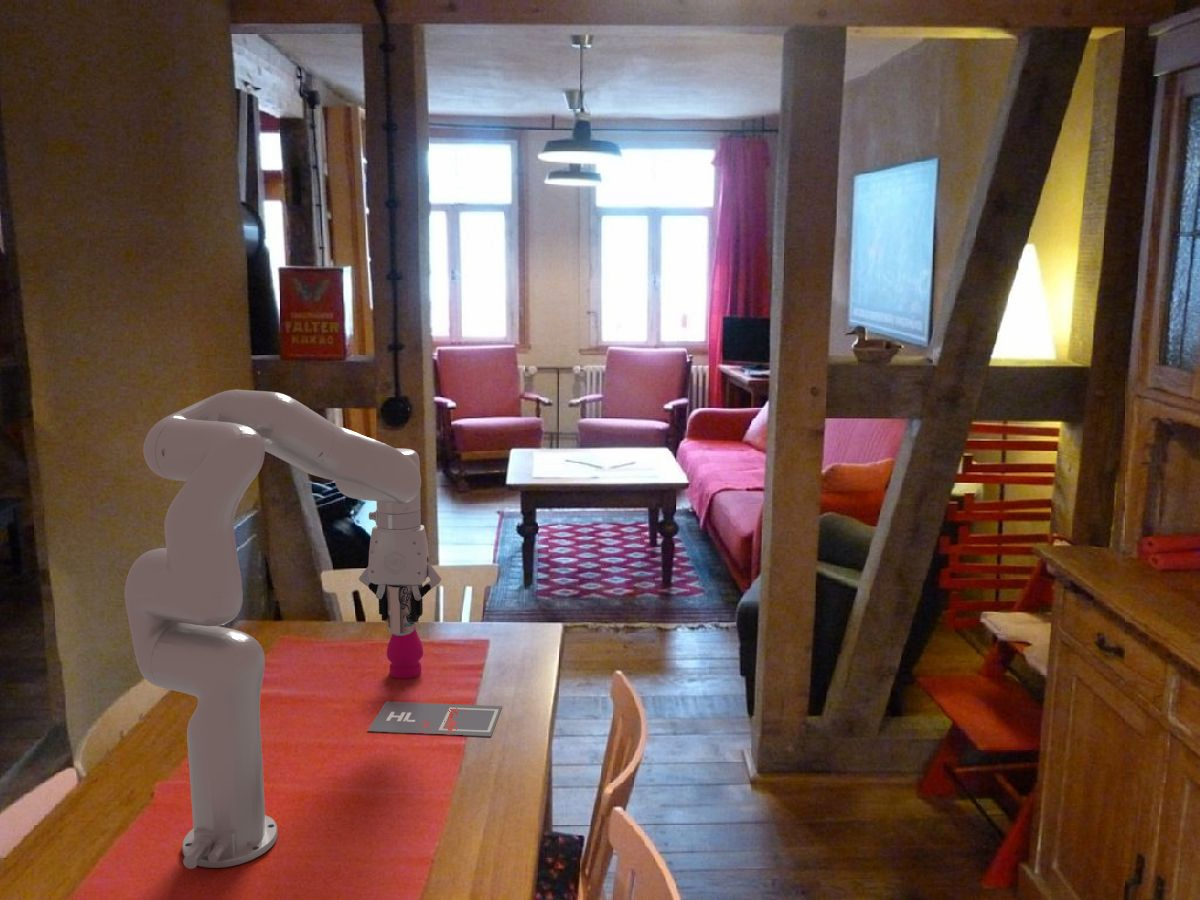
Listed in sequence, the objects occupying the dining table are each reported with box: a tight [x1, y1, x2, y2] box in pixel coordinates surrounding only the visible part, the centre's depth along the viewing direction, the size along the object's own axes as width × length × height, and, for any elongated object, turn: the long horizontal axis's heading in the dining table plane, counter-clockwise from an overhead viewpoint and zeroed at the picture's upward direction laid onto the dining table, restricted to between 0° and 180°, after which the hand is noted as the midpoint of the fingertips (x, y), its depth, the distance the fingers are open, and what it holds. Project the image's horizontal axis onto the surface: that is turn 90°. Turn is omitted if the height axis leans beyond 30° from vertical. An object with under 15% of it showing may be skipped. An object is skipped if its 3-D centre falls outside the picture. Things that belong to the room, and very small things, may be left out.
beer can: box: [386, 585, 416, 636], centre depth 174 cm, size 5×5×12 cm
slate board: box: [366, 701, 503, 738], centre depth 178 cm, size 12×22×1 cm, turn 86°
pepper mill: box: [386, 627, 424, 680], centre depth 196 cm, size 7×7×20 cm
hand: (401, 617), depth 175 cm, fingers closed on beer can, 4 cm apart
